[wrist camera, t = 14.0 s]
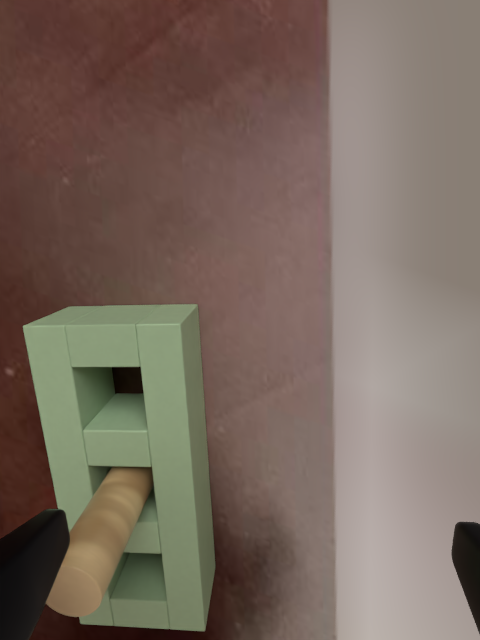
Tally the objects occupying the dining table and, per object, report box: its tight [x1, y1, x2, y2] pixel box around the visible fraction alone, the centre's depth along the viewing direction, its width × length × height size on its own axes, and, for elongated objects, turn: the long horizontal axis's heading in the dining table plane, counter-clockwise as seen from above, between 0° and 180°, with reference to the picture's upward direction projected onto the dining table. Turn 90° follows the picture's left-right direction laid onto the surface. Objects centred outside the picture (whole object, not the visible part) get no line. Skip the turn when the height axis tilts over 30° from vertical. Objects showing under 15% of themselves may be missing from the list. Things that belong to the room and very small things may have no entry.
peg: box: [46, 466, 154, 617], centre depth 18 cm, size 2×2×9 cm
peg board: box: [23, 304, 215, 631], centre depth 20 cm, size 7×18×4 cm, turn 2°
